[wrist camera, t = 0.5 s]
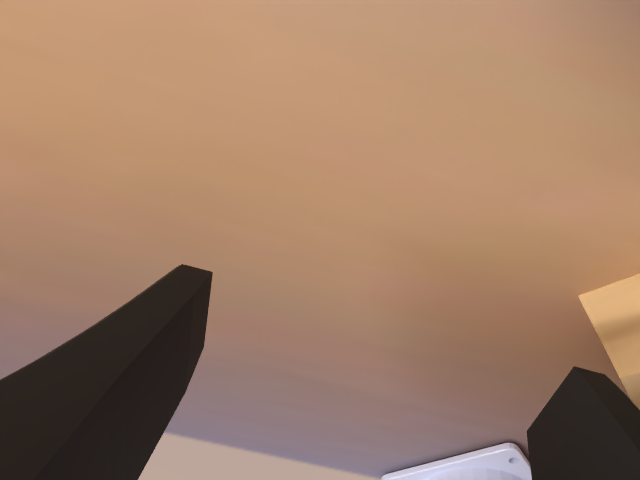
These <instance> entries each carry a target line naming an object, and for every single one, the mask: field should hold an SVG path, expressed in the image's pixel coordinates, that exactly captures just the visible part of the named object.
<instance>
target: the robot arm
mask: <svg viewBox="0 0 640 480" xmlns="http://www.w3.org/2000/svg"><path fill="white" fill-rule="evenodd" d="M212 273H213V272H210V271H206V270H203V269H199V268H195V267H191V266H187V265H183V264H182V265H180V266H178V267H176V268H175V269H173V270H172V271H171V272H169V273H168V274H167V275H165V276H164V277H162V278H161V279H160V280H158V281H157V282H156V283H154V284H153V285H151V286H150V287H149V288H147V289H146V290H145V291H143V292H142V293H140V294H139V295H137V296H136V297H135V298H133V299H132V300H130V301H129V302H128V303H126V304H125V305H123V306H122V307H120V308H119V309H117V310H116V311H114V312H113V313H111V314H110V315H108V316H107V317H105V318H104V319H102V320H101V321H99V322H98V323H96V324H95V325H93V326H92V327H90V328H89V329H87V330H85V331H84V332H82V333H81V334H79V335H77V336H76V337H74V338H72V339H71V340H69V341H67V342H66V343H64V344H62V345H61V346H59V347H57V348H56V349H54V350H52V351H51V352H49V353H47V354H46V355H44V356H42V357H41V358H39V359H37V360H35V361H34V362H32V363H30V364H28V365H27V366H25V367H23V368H21V369H19V370H18V371H16V372H14V373H12V374H10V375H8V376H6V377H5V378H3V379H1V380H0V480H138V478H139V476H140V474H141V473H142V471H143V469H144V467H145V465H146V463H147V462H148V460H149V458H150V456H151V454H152V453H153V451H154V449H155V447H156V445H157V443H158V442H159V440H160V438H161V436H162V434H163V433H164V431H165V429H166V427H167V425H168V423H169V422H170V420H171V418H172V416H173V414H174V412H175V410H176V409H177V407H178V405H179V403H180V401H181V399H182V397H183V396H184V394H185V392H186V389H187V387H188V384H189V382H190V380H191V377H192V375H193V372H194V370H195V367H196V365H197V362H198V360H199V357H200V355H201V352H202V350H203V347H204V341H205V332H206V324H207V315H208V307H209V298H210V290H211V281H212ZM527 438H528V450H529V460H530V463H529V461H528V460H527V459H526V457H525V456H524V454H523V453H522V451H521V450H520V448H519V447H518V446H517V445H516V444H513V443H504V444H500V445H496V446H492V447H488V448H484V449H481V450H477V451H473V452H469V453H465V454H461V455H458V456H454V457H450V458H446V459H442V460H438V461H435V462H431V463H427V464H423V465H419V466H415V467H412V468H408V469H404V470H400V471H396V472H392V473H389V474H385V475H383V477H382V480H640V410H639V409H638V408H637V406H636V405H635V404H634V403H633V402H632V401H631V400H630V399H629V398H628V397H627V396H626V395H625V394H624V393H623V392H622V391H621V390H620V389H619V388H618V387H617V386H616V385H615V384H614V383H613V382H612V381H611V380H610V379H609V378H608V377H607V376H606V375H605V374H601V373H597V372H593V371H589V370H586V369H582V368H578V367H573V369H572V370H571V371H570V373H569V374H568V376H567V377H566V378H565V380H564V381H563V382H562V384H561V385H560V387H559V388H558V389H557V391H556V392H555V393H554V395H553V396H552V397H551V399H550V400H549V402H548V403H547V404H546V406H545V407H544V408H543V410H542V411H541V413H540V414H539V415H538V417H537V418H536V419H535V421H534V422H533V423H532V425H531V426H530V428H529V429H528V430H527Z"/></svg>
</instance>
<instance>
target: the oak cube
mask: <svg viewBox="0 0 640 480" xmlns="http://www.w3.org/2000/svg"><path fill="white" fill-rule="evenodd" d="M578 297H579V299H580V301H581V303H582V305H583V307H584V309H585V311H586V313H587V315H588V317H589V319H590V321H591V323H592V325H593V326H594V328H595V330H596V332H597V334H598V336H599V338H600V340H601V342H602V344H603V346H604V348H605V350H606V352H607V354H608V356H609V358H610V360H611V362H612V364H613V366H614V368H615V370H616V372H617V374H618V376H619V378H620V380H621V382H622V383H623V385H624V387H625V389H626V391H627V393H628V395H629V397H630V399H631V401H632V402H633V403H634V404H635V405H636V406H637V408H638V409H639V410H640V274H637V275H634V276H631V277H629V278H626V279H623V280H620V281H618V282H615V283H612V284H609V285H607V286H604V287H601V288H598V289H595V290H593V291H590V292H587V293H584V294H582V295H579V296H578Z"/></svg>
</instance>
